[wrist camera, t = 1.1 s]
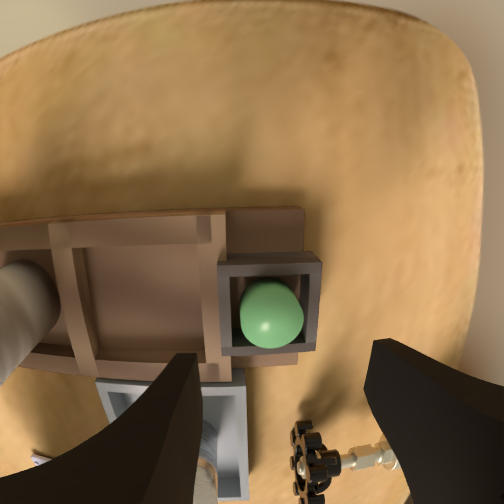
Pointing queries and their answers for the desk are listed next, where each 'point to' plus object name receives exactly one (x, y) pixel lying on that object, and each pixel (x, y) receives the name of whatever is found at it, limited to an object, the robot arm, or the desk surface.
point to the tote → (214, 412)
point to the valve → (329, 462)
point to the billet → (207, 467)
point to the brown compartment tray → (148, 290)
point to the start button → (270, 313)
